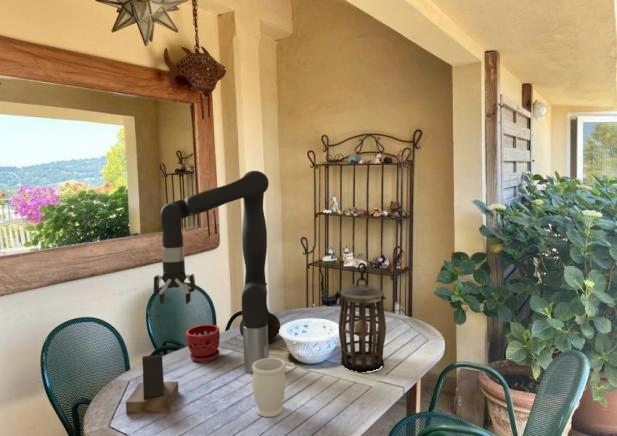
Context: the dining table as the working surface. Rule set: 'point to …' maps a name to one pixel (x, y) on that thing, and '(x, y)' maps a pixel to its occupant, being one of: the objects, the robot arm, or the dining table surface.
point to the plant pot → (203, 342)
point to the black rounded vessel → (272, 326)
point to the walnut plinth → (152, 400)
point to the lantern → (362, 326)
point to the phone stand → (153, 376)
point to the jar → (268, 386)
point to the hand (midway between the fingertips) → (175, 303)
